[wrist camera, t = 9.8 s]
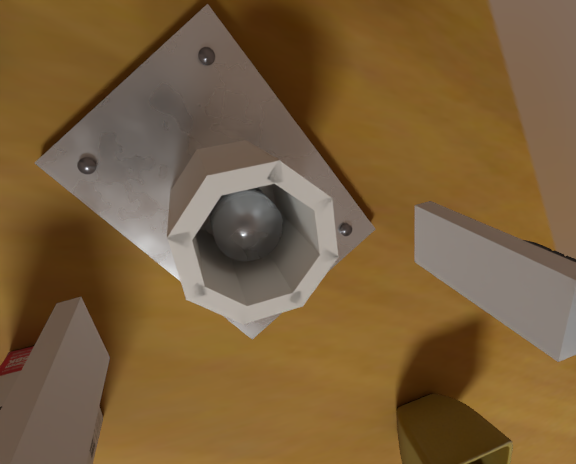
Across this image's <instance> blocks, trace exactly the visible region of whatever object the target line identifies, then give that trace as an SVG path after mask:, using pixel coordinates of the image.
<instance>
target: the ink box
mask: <svg viewBox="0 0 576 464" xmlns="http://www.w3.org/2000/svg"><path fill="white" fill-rule="evenodd" d="M33 347H34V346H33ZM33 347H29V348H24V349H20V350H17V351H12V352H9V353H8V355H7V357H6V358H5V360H4V361H3V363H2V364H1V366H0V407H1V406H3V404H4V402H5V400H6V398H7V397H8V395H9V393H10V391H11V389H12V387H13V385H14V383H15V381H16V380H17V378H18V376H19V374H20V372H21V370H22V368H23V366H24V364H25V362H26V361H27V359H28V357H29V355H30V353H31V351H32V349H33ZM102 422H103V415H102V412H101V409H100V406H99V410H98V414H97V419H96V423H95V428H94V432H93V437H92V441H91V446H90V450H89V455H88V459H87V464H93V460H94V456H95V451H96V447H97V443H98V439H99V435H100V430H101V426H102Z"/></svg>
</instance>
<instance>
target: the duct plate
mask: <svg viewBox="0 0 576 464" xmlns="http://www.w3.org/2000/svg"><path fill="white" fill-rule="evenodd" d="M243 140H247V141H248V142H250V143H252V144H254V145H255V146H257V147H259V148H260V149H262V150H264V151H265V152H267V153H269V154H271V155H272V156H274V157H276V158H277V159H279V160H281V162H282V163H284V164H285V165H287V166H288V167H289V168H291V169H292V170H294V171H295V172H297V173H298V174H299V175H301V176H302V177H304V178H305V179H306V180H308V181H309V182H311V183H312V184H313V185H315V186H316V187H318V188H319V189H320V190H322V191H323V192H325V193H326V194H328V195H330V196H331V197H332V198H333V199H332V200H333V210H334V220H335V230H336V239H337V249H338V256H339V257H338V258H337V260H336V261H335V262H334V264H333V265H332V267H331V268H330V269H332V268H333V267H334V266H335V265H336V264H337V263H338V262H339V261H341V260H342V259H343V258H344V257H345V256H346V255H347V254H348V253H349V252H351V251H352V250H353V249H354V248H355V247H356V246H357V245H358V244H360V243H361V242H362V241H363V240H364V239H365V238H366V237H367V236H368V235H370V234H371V233H372V232H373V231H374V230H375V228H374V226H373V225H372V224H371V222H370V221H369V220H368V218H367V217H366V216H365V214H364V213H363V212H362V210H361V209H360V208H359V206H358V205H357V204H356V202H355V201H354V200H353V198H352V197H351V195H350V194H349V193H348V191H347V190H346V189H345V187H344V186H343V185H342V183H341V182H340V181H339V179H338V178H337V177H336V175H335V174H334V173H333V171H332V170H331V169H330V167H329V166H328V165H327V163H326V162H325V161H324V159H323V158H322V157H321V155H320V154H319V153H318V151H317V150H316V149H315V147H314V146H313V145H312V143H311V142H310V140H309V139H308V138H307V136H306V135H305V134H304V132H303V131H302V130H301V128H300V127H299V126H298V124H297V123H296V122H295V120H294V119H293V118H292V116H291V115H290V114H289V112H288V111H287V110H286V108H285V107H284V106H283V104H282V103H281V102H280V100H279V99H278V98H277V96H276V95H275V94H274V92H273V91H272V89H271V88H270V87H269V85H268V84H267V83H266V81H265V80H264V79H263V77H262V76H261V75H260V73H259V72H258V71H257V69H256V68H255V67H254V65H253V64H252V63H251V61H250V60H249V59H248V57H247V56H246V55H245V53H244V52H243V51H242V49H241V48H240V47H239V45H238V44H237V43H236V41H235V40H234V39H233V37H232V36H231V34H230V33H229V32H228V30H227V29H226V28H225V26H224V25H223V24H222V22H221V21H220V20H219V18H218V17H217V16H216V14H215V13H214V12H213V10H212V9H211V8H210V6H209V5H208V4H207V5H206V6H205V7H203V8H202V9H201V10H200V11H199V12H198V13H197V14H196V15H195V16H194V17H193V18H192V19H190V20H189V21H188V22H187V23H186V24H185V25H184V26H183V27H182V28H181V29H180V30H178V31H177V32H176V33H175V34H174V35H173V36H172V37H171V38H170V39H169V40H168V41H167V42H165V43H164V44H163V45H162V46H161V47H160V48H159V49H158V50H157V51H156V52H155V53H153V54H152V55H151V56H150V57H149V58H148V59H147V60H146V61H145V62H144V63H143V64H141V65H140V66H139V67H138V68H137V69H136V70H135V71H134V72H133V73H132V74H131V75H130V76H128V77H127V78H126V79H125V80H124V81H123V82H122V83H121V84H120V85H119V86H118V87H116V88H115V89H114V90H113V91H112V92H111V93H110V94H109V95H108V96H107V97H106V98H105V99H103V100H102V101H101V102H100V103H99V104H98V105H97V106H96V107H95V108H94V109H93V110H91V111H90V112H89V113H88V114H87V115H86V116H85V117H84V118H83V119H82V120H81V121H80V122H78V123H77V124H76V125H75V126H74V127H73V128H72V129H71V130H70V131H69V132H68V133H66V134H65V135H64V136H63V137H62V138H61V139H60V140H59V141H58V142H57V143H56V144H55V145H53V146H52V147H51V148H50V149H49V150H48V151H47V152H46V153H45V154H44V155H43V156H41V157H40V158H39V159H38V160H37V161H36V162H35V164H36V165H37V166H39V167H40V168H41V169H42V170H44V171H45V172H46V173H47V174H49V175H50V176H51V177H52V178H54V179H55V180H56V181H57V182H58V183H60V184H61V185H62V186H63V187H65V188H66V189H67V190H68V191H70V192H71V193H72V194H73V195H74V196H76V197H77V198H78V199H79V200H81V201H82V202H83V203H84V204H86V205H87V206H88V207H89V208H91V209H92V210H93V211H94V212H95V213H97V214H98V215H99V216H100V217H102V218H103V219H104V220H105V221H107V222H108V223H109V224H110V225H112V226H113V227H114V228H115V229H116V230H118V231H119V232H120V233H121V234H123V235H124V236H125V237H126V238H128V239H129V240H130V241H131V242H133V243H134V244H135V245H136V246H137V247H139V248H140V249H141V250H142V251H144V252H145V253H146V254H147V255H149V256H150V257H151V258H152V259H153V260H155V261H156V262H157V263H158V264H160V265H161V266H162V267H163V268H165V269H166V270H167V271H168V272H170V273H171V274H172V275H173V276H174V277H176V278H177V279H178V280H179V281H180V277H179V274H178V271H177V268H176V264H175V261H174V258H173V255H172V252H171V248H170V245H169V242H168V239H167V228H168V214H169V201H170V190H171V189H172V188H173V186H174V185H175V183H176V181H177V180H178V178H179V177H180V175H181V174H182V172H183V170H184V169H185V167H186V166H187V164H188V162H189V161H190V159H191V158H192V156H193V155H194V153H195V151H196V150H197V149H202V148H207V147H212V146H217V145H223V144H228V143H233V142H238V141H243ZM200 229H202V230H203V231H205V232H207V233H209V234H211V235H213V236H214V239H215V242H216V244H217V246H218V247H219V249H220V250H221V251H222V252H223V253H224V254H225V255H226V256H228V257H230V258H232V259H234V260H238V261H246V262H247V261H255V260H258V259H261V258H263V257H265V256H266V255H268V254H269V253H270V252H272V251H273V250H274V249H275V247H276V246H277V245H278V243H279V241H280V239H281V236H282V233H283V219H282V216H281V213H280V211H279V210H278V208H277V207H276V203H275V197H274V192H273V186H272V184H271V185H266V186H262V187H257V188H253V189H248V190H244V191H239V192H235V193H230V194H226V195H221V197H220V198H219V200H218V202H217V203H216V205H215V206H214V208H213V209H212V211H211V212H210V214H209V215H208V217H207V218H206V220H205V221H204V223H203V224H202V226H201V228H200ZM330 269H329V270H330ZM280 314H281V313H279V314H276V315H272V316H269V317H266V318H262V319H259V320H256V321H253V322H249V323H246V324H243V325H242V324H241V323H239V322H237V321H234V320H232V319H230V318H227V317H225V316H224V317H225V318H226V319H228V320H229V321H230V322H231V323H232V324H234V325H235V326H236V327H237V328H239V329H240V330H241V331H242V332H244V333H245V334H246V335H247V336H249V337H250V338H251V339H253V338H254V337H256V336H257V335H258V334H259V333H260V332H261V331H262V330H263V329H265V328H266V327H267V326H268V325H269V324H270V323H271V322H272V321H273V320H275V319H276V318H277V317H278V316H279V315H280Z"/></svg>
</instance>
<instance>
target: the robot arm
mask: <svg viewBox="0 0 576 464" xmlns="http://www.w3.org/2000/svg"><path fill="white" fill-rule="evenodd" d="M415 262H416V263H417V264H418V265H420V266H421V267H423V268H424V269H426V270H427V271H428V272H430V273H431V274H433V275H434V276H436V277H437V278H439V279H440V280H441V281H443V282H444V283H446V284H447V285H449V286H450V287H451V288H453V289H454V290H456V291H457V292H459V293H460V294H461V295H463V296H464V297H466V298H467V299H469V300H470V301H472V302H473V303H474V304H476V305H477V306H479V307H480V308H482V309H483V310H484V311H486V312H487V313H489V314H490V315H492V316H493V317H494V318H496V319H497V320H499V321H500V322H502V323H503V324H505V325H506V326H507V327H509V328H510V329H512V330H513V331H515V332H516V333H517V334H519V335H520V336H522V337H523V338H525V339H526V340H527V341H529V342H530V343H532V344H533V345H535V346H536V347H538V348H539V349H540V350H542V351H543V352H545V353H546V354H548V355H549V356H550V357H552V358H553V359H555V360H556V361H558V362H559V361H562V360H564V359H566V358H569V357H571V356H573V355H576V259H574V258H571V257H568V256H566V257H565V256H564V254H561V253H559V252H557V251H552V250H551V249H549V248H547V247H545V246H542V245H540V244H537V243H534V242H530V241H525V240H521V239H519V238H517V237H514V236H512V235H510V234H507V233H505V232H502V231H500V230H498V229H495V228H493V227H491V226H488V225H486V224H483V223H481V222H479V221H476V220H474V219H472V218H469V217H467V216H465V215H462V214H460V213H457V212H455V211H453V210H450V209H448V208H446V207H443V206H441V205H439V204H436V203H434V202H431V201H429V202H425V203H421V204H418V205H415ZM109 360H110V357H109V354H108V352H107V350H106V348H105V346H104V344H103V342H102V340H101V338H100V335H99V333H98V331H97V329H96V327H95V325H94V323H93V321H92V318H91V316H90V314H89V312H88V310H87V308H86V306H85V304H84V302H83V299H82V297H78V298H74V299H71V300H67V301H63V302H60V303H57V304H56V306H55V307H54V309H53V311H52V313H51V315H50V317H49V319H48V321H47V323H46V325H45V326H44V328H43V330H42V332H41V334H40V336H39V338H38V340H37V342H36V343H35V345H34V347H33V349H32V351H31V353H30V355H29V357H28V359H27V361H26V362H25V364H24V366H23V368H22V370H21V372H20V374H19V376H18V378H17V380H16V381H15V383H14V385H13V387H12V389H11V391H10V393H9V395H8V397H7V398H6V400H5V402H4V404H3V406H1V407H0V464H87V459H88V455H89V450H90V446H91V441H92V437H93V432H94V428H95V423H96V419H97V414H98V410H99V405H100V401H101V396H102V392H103V387H104V382H105V378H106V373H107V369H108V364H109Z"/></svg>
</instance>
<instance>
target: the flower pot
mask: <svg viewBox="0 0 576 464" xmlns="http://www.w3.org/2000/svg"><path fill="white" fill-rule="evenodd" d="M397 424H398V440H399V448H400V454H401V459H402V464H510V462H511V455H512V449H513V444H512V441H511V440H510V439H509V438H508V437H506V436H505V435H504V434H503V433H502V432H500V431H499V430H498V429H497V428H496V427H494V426H493V425H492V424H491V423H489V422H488V421H487V420H486V419H484V418H483V417H482V416H481V415H479V414H478V413H477V412H476V411H474V410H473V409H472V408H470V407H469V406H467V405H466V404H464V403H462V402H460V401H458V400H456V399H453V398H451V397H448V396H444V395H440V394H430V395H428V396H425V397H423V398H420V399H418V400H415V401H413V402H410V403H408V404H405V405H403V406H400V407H399V408H398V409H397Z"/></svg>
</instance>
